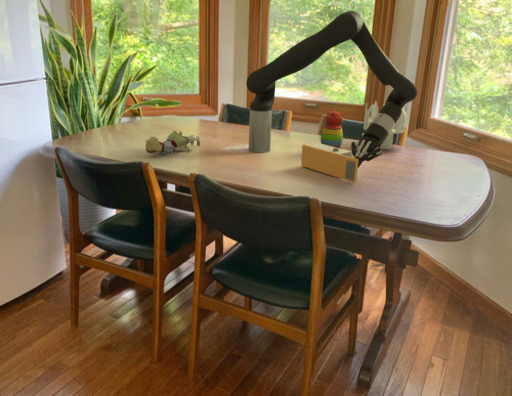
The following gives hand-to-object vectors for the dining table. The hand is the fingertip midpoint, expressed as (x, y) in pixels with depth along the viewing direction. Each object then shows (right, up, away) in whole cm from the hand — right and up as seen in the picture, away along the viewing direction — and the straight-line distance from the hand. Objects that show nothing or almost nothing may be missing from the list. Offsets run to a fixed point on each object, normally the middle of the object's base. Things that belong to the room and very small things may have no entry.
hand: (353, 167), depth 160 cm
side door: (-8, -2, +6) cm, 10 cm away
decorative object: (+21, +11, +49) cm, 54 cm away
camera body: (-7, 0, +13) cm, 15 cm away
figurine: (-68, +8, +33) cm, 76 cm away
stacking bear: (-1, +9, +39) cm, 40 cm away
